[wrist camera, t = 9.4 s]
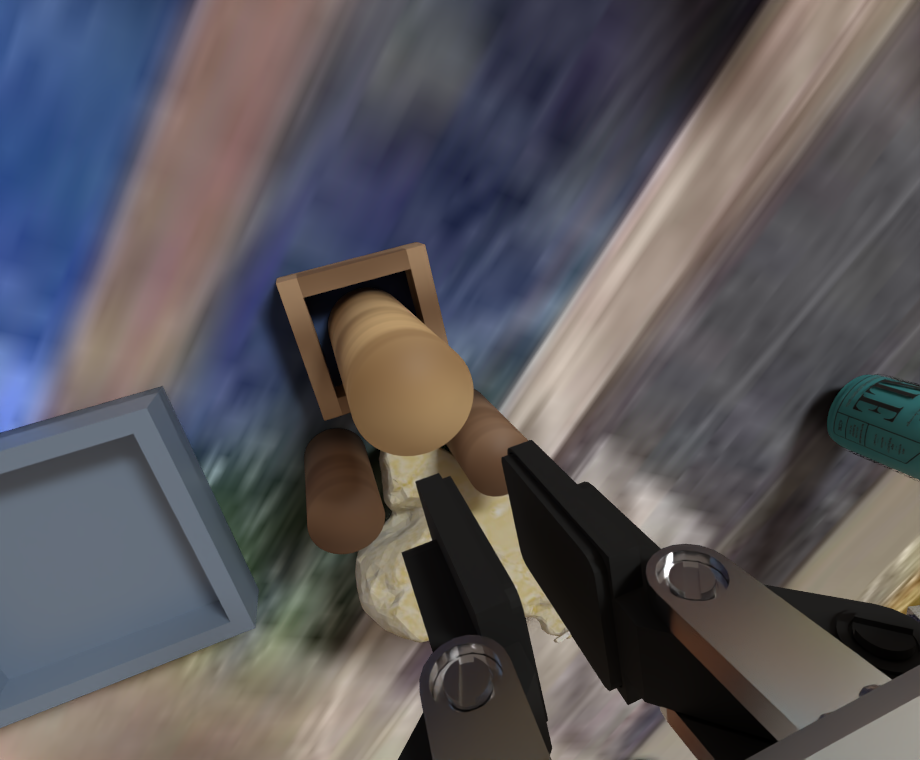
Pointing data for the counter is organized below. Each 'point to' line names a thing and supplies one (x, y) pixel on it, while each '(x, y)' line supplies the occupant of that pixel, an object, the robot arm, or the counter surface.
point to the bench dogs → (354, 487)
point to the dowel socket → (346, 274)
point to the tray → (109, 553)
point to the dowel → (397, 374)
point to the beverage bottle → (879, 421)
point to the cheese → (407, 528)
